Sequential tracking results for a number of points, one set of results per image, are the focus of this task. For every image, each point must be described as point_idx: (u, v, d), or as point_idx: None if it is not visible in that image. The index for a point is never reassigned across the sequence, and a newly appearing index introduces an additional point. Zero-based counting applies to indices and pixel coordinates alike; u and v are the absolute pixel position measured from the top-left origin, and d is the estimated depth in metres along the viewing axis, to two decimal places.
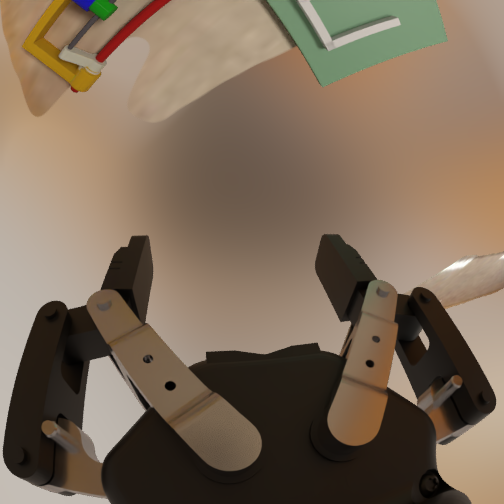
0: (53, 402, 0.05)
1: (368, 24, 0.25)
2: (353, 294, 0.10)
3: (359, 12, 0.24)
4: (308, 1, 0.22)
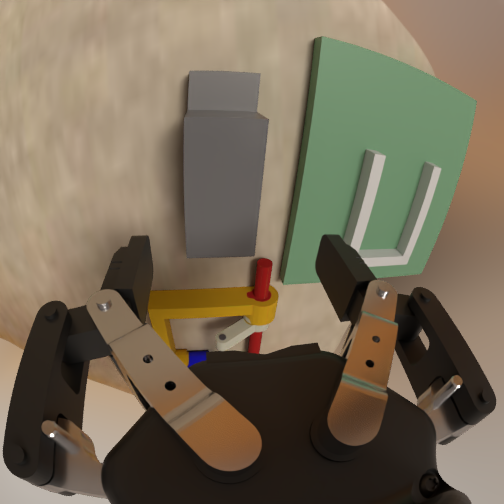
0: (53, 402, 0.05)
1: (416, 202, 0.26)
2: (353, 294, 0.10)
3: (399, 201, 0.26)
4: None
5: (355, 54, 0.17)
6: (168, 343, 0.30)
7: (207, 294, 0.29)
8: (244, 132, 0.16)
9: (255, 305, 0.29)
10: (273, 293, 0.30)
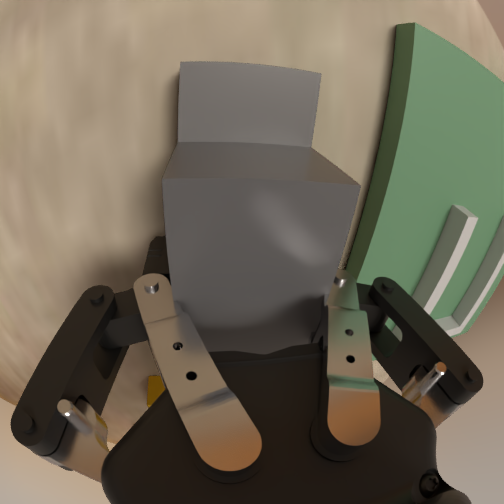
0: (77, 383, 0.06)
1: (486, 265, 0.17)
2: None
3: (470, 265, 0.17)
4: None
5: (456, 60, 0.08)
6: None
7: None
8: (307, 213, 0.07)
9: None
10: None
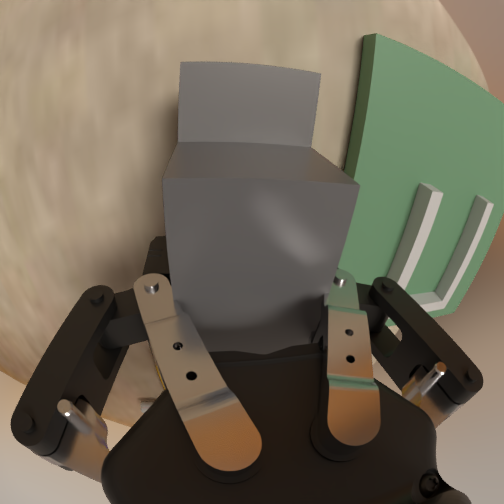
0: (77, 383, 0.06)
1: (463, 242, 0.20)
2: None
3: (446, 241, 0.20)
4: None
5: (415, 61, 0.12)
6: None
7: None
8: (307, 213, 0.07)
9: None
10: None
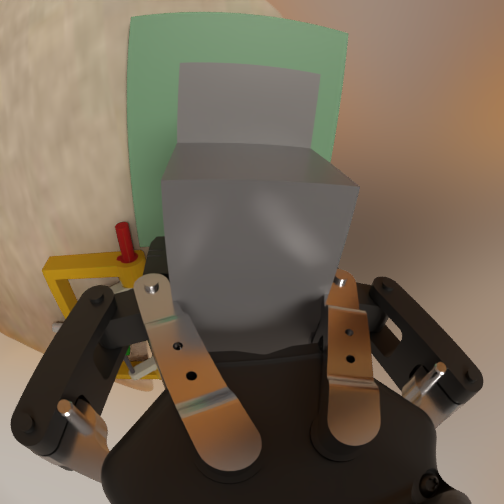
0: (77, 383, 0.06)
1: None
2: None
3: None
4: None
5: (164, 21, 0.17)
6: (65, 304, 0.30)
7: (87, 258, 0.29)
8: (306, 214, 0.07)
9: (118, 266, 0.29)
10: (140, 257, 0.30)
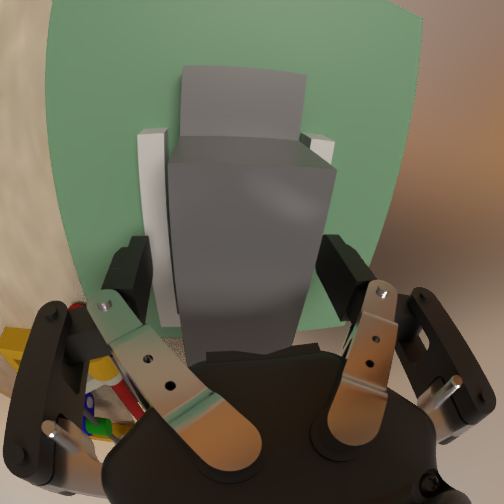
0: (53, 402, 0.05)
1: None
2: (353, 294, 0.10)
3: None
4: (178, 315, 0.17)
5: None
6: None
7: None
8: (290, 193, 0.08)
9: None
10: None
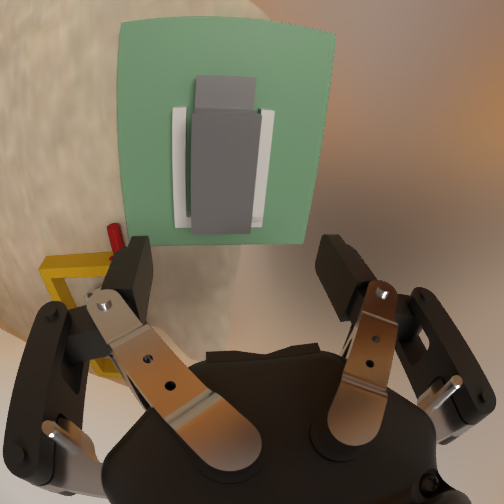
0: (53, 402, 0.05)
1: None
2: (353, 294, 0.10)
3: None
4: (186, 218, 0.27)
5: (152, 26, 0.17)
6: None
7: (81, 258, 0.30)
8: (241, 126, 0.19)
9: None
10: None
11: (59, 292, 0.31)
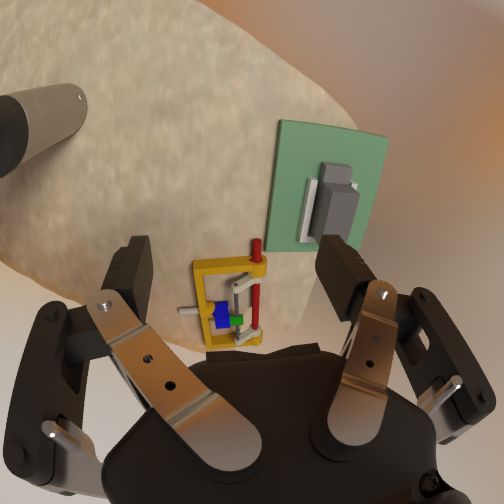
0: (53, 402, 0.05)
1: None
2: (353, 294, 0.10)
3: None
4: (306, 237, 0.50)
5: (300, 127, 0.40)
6: (203, 292, 0.54)
7: (226, 260, 0.53)
8: (351, 198, 0.42)
9: (253, 265, 0.52)
10: (264, 259, 0.53)
11: (203, 285, 0.54)
